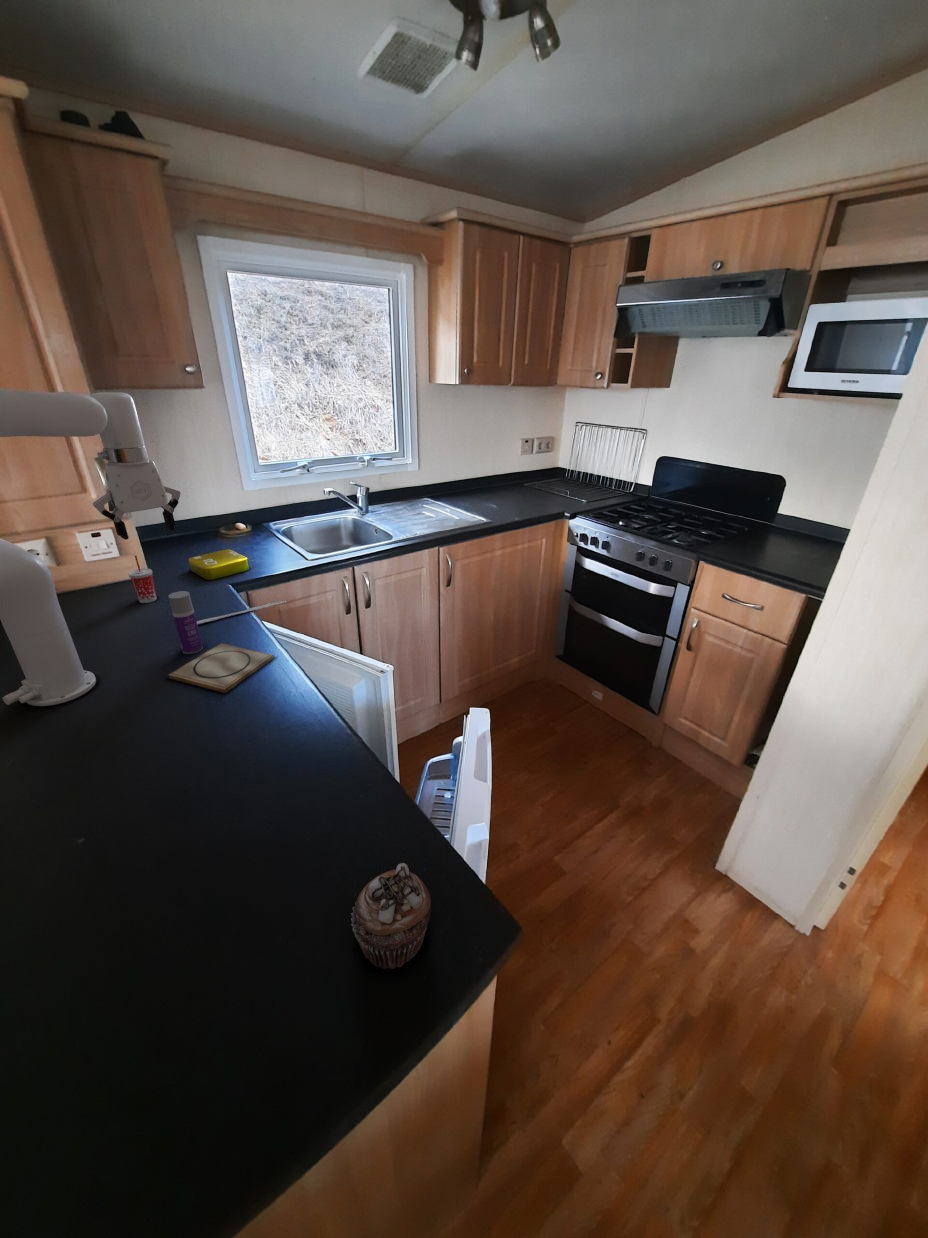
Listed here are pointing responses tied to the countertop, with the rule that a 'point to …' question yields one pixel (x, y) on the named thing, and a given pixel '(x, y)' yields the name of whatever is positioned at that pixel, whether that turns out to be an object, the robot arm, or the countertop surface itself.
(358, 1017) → the countertop surface
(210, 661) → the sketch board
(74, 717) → the countertop surface
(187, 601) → the container
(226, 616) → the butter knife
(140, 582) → the beverage cup
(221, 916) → the countertop surface
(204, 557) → the yellow flat square block
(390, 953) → the cupcake
